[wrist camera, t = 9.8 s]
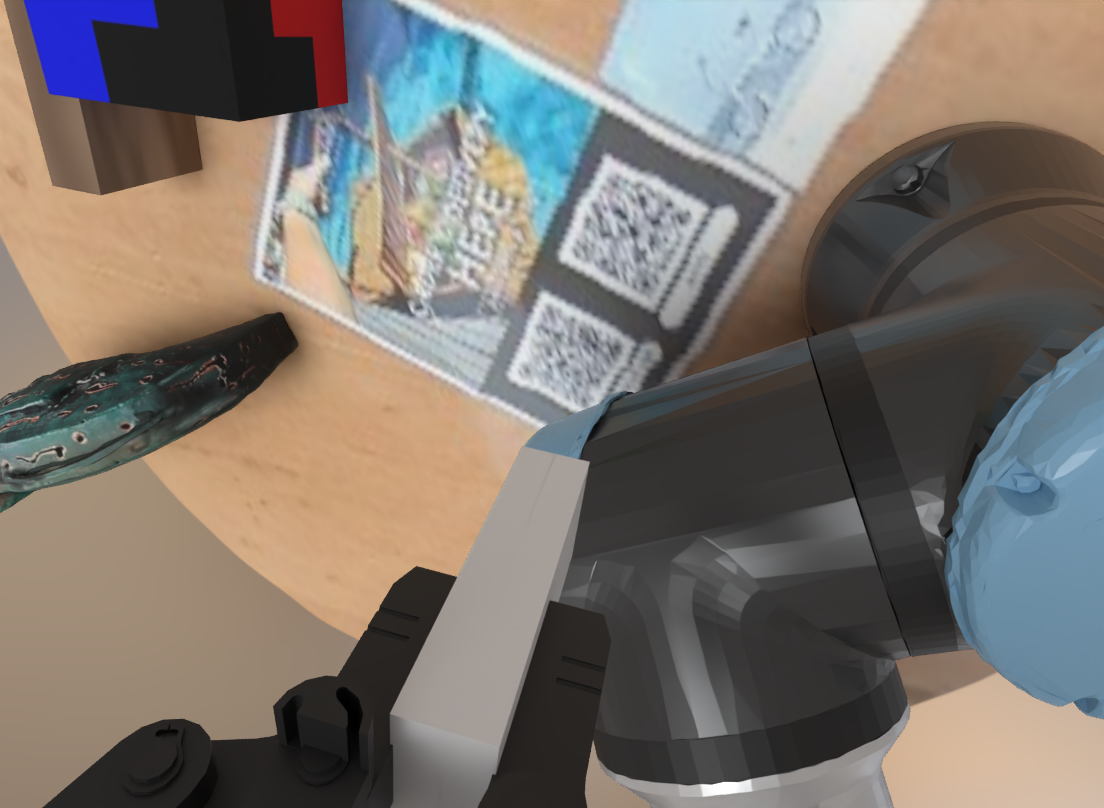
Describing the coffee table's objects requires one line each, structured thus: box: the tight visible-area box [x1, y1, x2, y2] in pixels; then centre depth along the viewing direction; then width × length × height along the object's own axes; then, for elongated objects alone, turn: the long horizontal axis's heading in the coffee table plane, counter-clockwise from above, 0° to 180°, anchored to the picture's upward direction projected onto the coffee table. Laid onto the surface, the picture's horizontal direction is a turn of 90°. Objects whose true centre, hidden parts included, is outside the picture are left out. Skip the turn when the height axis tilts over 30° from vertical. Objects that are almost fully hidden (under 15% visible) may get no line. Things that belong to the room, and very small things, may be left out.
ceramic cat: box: [0, 312, 297, 513], centre depth 41 cm, size 20×6×20 cm, turn 109°
